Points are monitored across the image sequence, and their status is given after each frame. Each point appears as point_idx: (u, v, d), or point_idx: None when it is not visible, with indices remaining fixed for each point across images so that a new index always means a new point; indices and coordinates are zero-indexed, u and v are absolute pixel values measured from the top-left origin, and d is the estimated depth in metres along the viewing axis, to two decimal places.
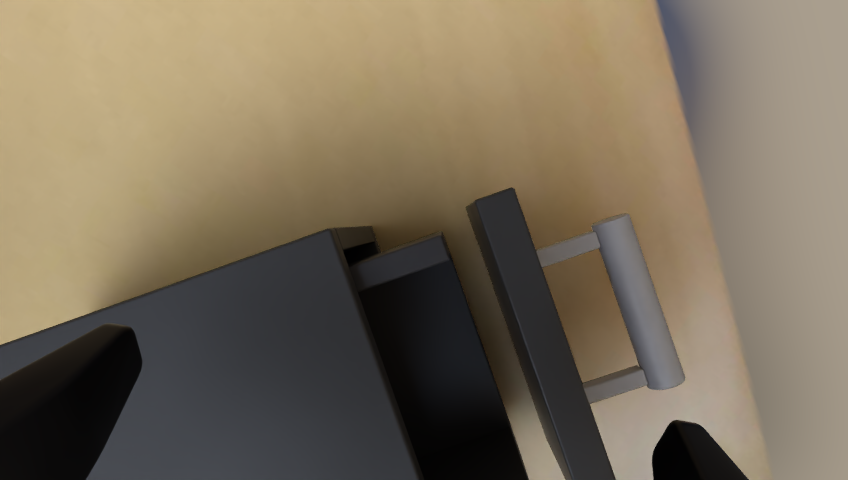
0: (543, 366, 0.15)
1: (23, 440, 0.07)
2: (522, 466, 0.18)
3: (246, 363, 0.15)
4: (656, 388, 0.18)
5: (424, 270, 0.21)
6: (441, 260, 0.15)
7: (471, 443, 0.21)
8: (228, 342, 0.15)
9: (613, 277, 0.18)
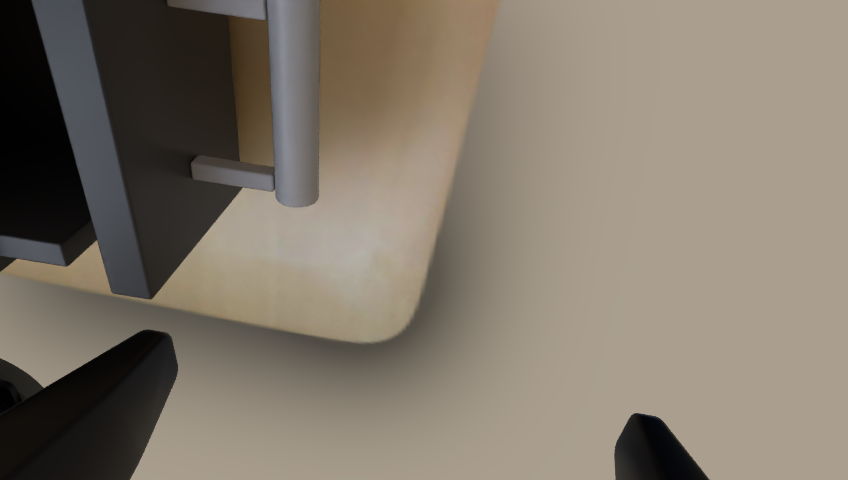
0: (78, 130, 0.12)
1: (71, 448, 0.07)
2: None
3: None
4: (277, 199, 0.16)
5: None
6: None
7: None
8: None
9: None
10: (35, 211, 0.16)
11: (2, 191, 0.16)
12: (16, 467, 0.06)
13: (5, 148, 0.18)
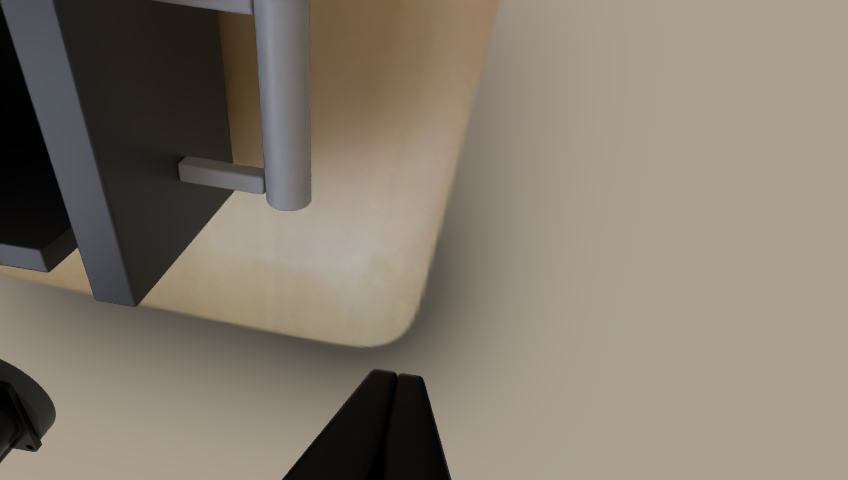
0: (53, 131, 0.12)
1: None
2: None
3: None
4: (268, 202, 0.16)
5: None
6: None
7: None
8: None
9: (257, 62, 0.13)
10: (16, 214, 0.15)
11: None
12: None
13: None
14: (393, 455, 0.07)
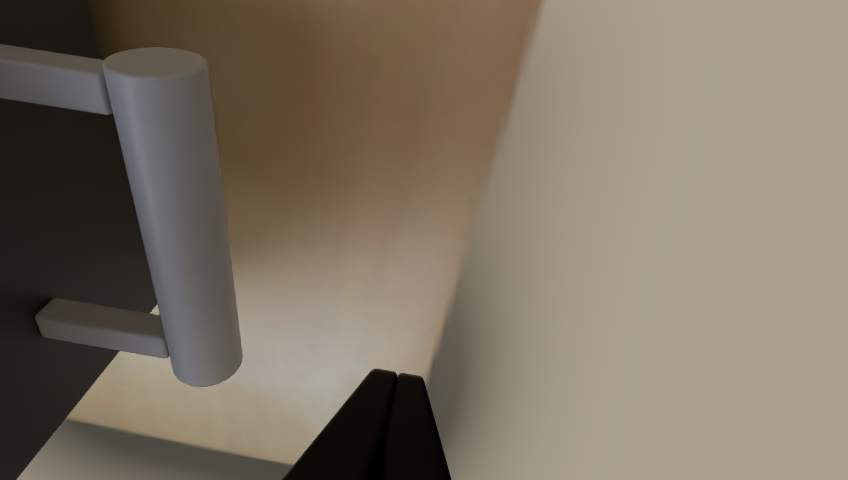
0: None
1: None
2: None
3: None
4: (173, 371, 0.10)
5: None
6: None
7: None
8: None
9: None
10: None
11: None
12: None
13: None
14: (393, 455, 0.07)
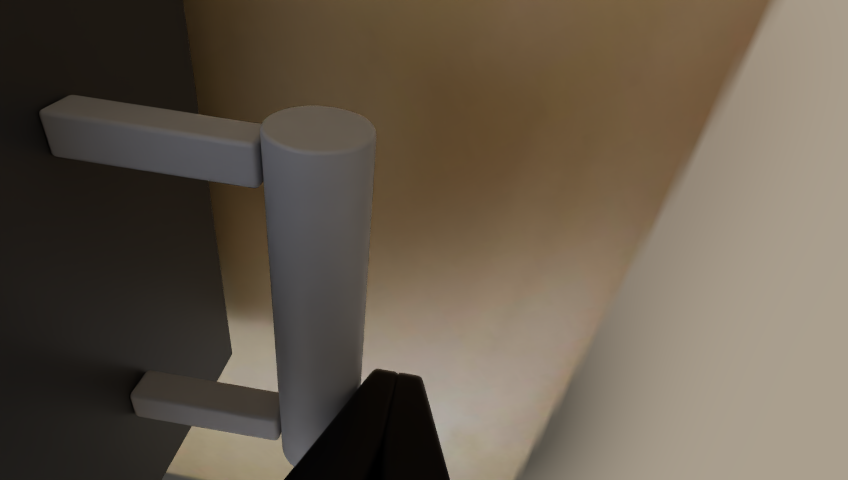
0: None
1: None
2: None
3: None
4: (285, 455, 0.09)
5: None
6: None
7: None
8: None
9: (269, 263, 0.07)
10: None
11: None
12: None
13: None
14: (391, 455, 0.07)
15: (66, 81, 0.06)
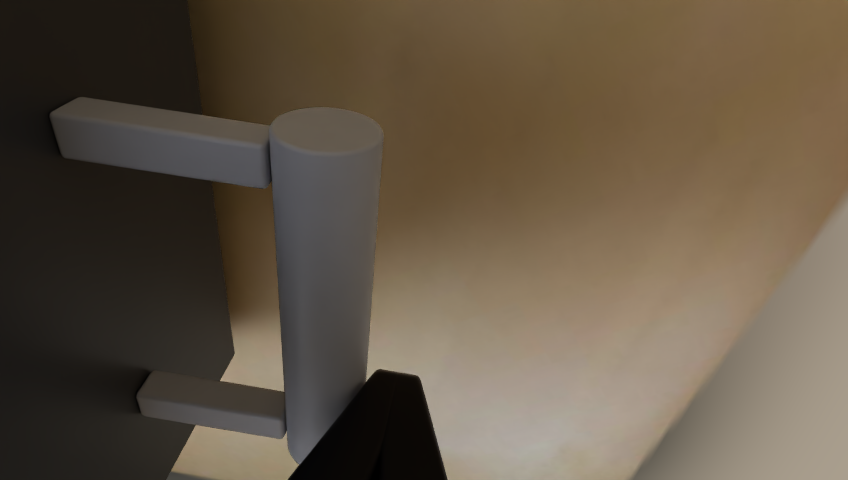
0: None
1: None
2: None
3: None
4: (291, 453, 0.09)
5: None
6: None
7: None
8: None
9: None
10: None
11: None
12: None
13: None
14: (389, 454, 0.07)
15: (76, 84, 0.07)
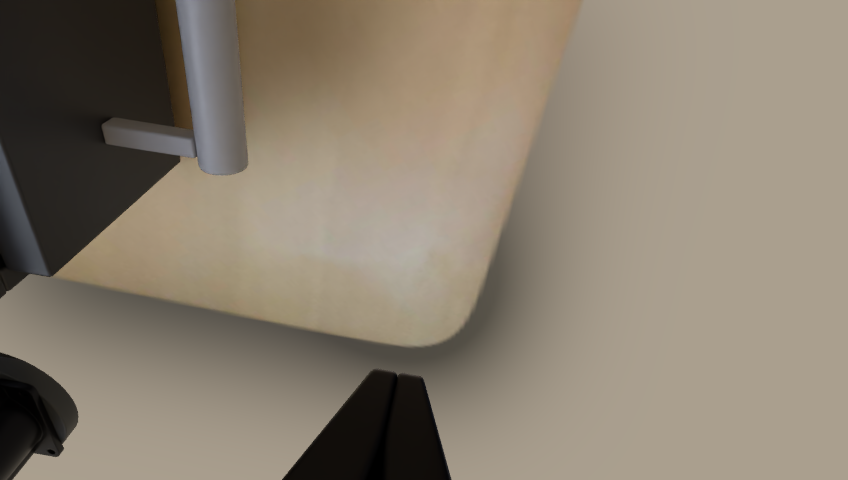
0: None
1: None
2: None
3: None
4: (199, 166, 0.15)
5: None
6: None
7: None
8: None
9: (176, 7, 0.12)
10: None
11: None
12: None
13: None
14: (393, 455, 0.07)
15: None
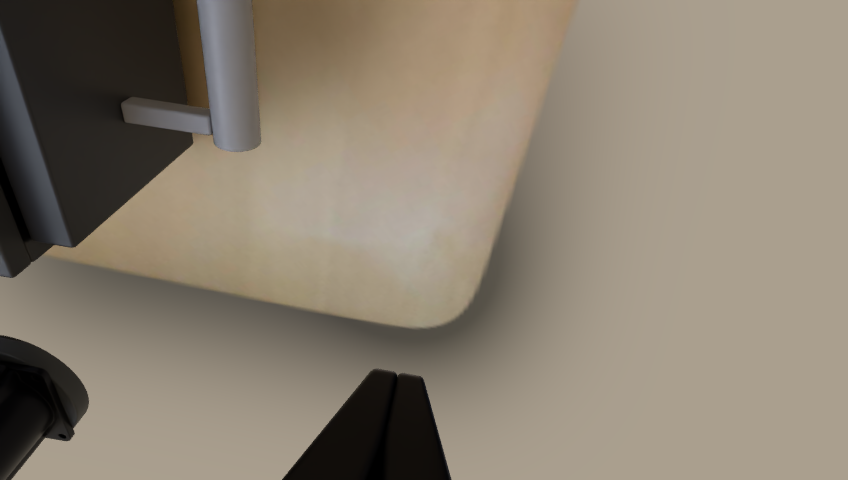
0: None
1: None
2: None
3: None
4: (215, 143, 0.15)
5: None
6: None
7: None
8: None
9: None
10: None
11: None
12: None
13: None
14: (393, 455, 0.07)
15: None
